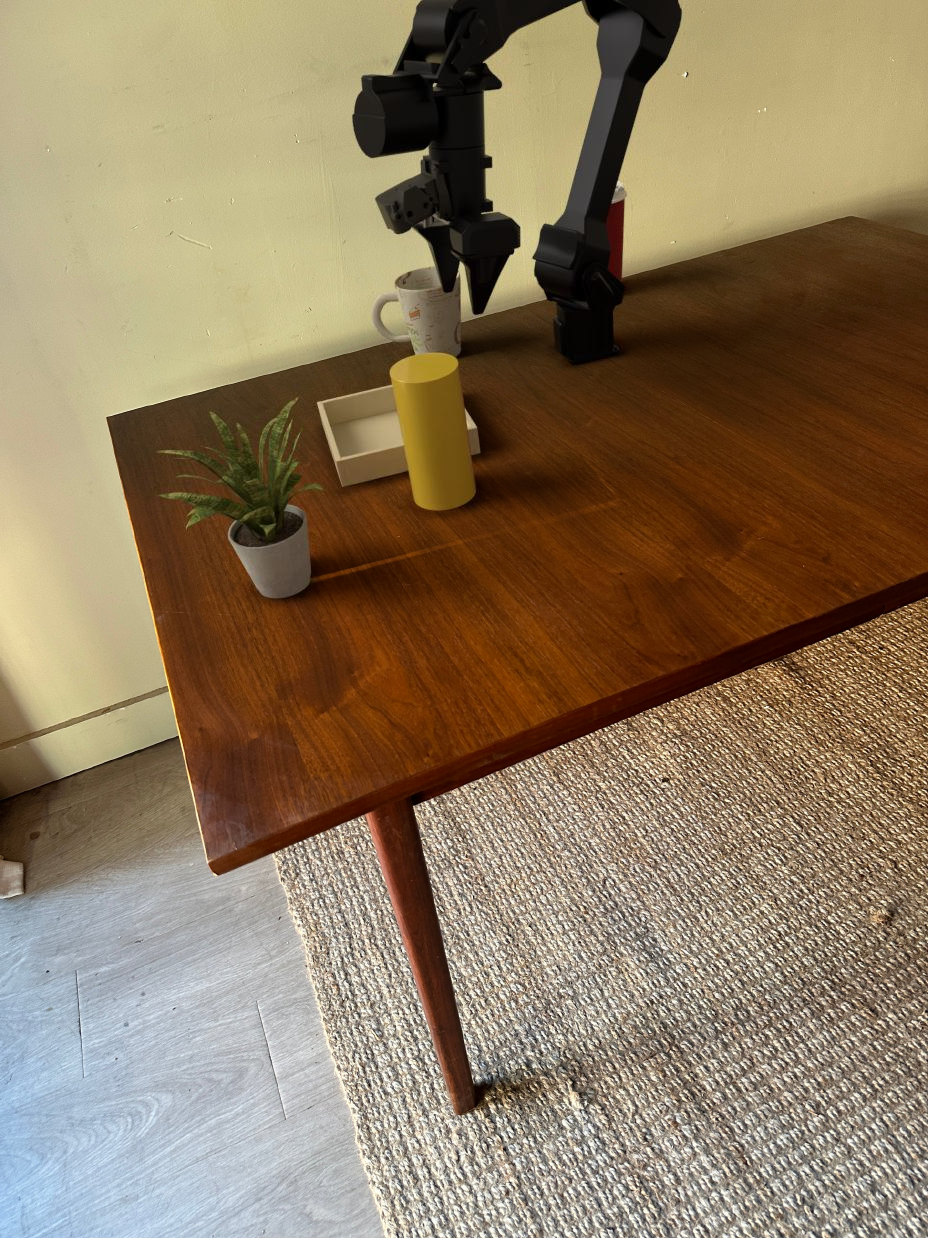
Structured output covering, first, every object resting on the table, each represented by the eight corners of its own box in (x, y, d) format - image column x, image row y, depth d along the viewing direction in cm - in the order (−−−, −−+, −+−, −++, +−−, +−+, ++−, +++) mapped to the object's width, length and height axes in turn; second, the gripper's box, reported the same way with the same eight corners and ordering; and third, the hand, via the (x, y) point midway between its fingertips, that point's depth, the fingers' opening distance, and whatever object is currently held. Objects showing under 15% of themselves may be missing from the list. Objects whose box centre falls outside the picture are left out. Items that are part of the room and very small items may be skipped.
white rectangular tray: (447, 399, 110) (443, 372, 108) (481, 456, 98) (477, 427, 96) (323, 429, 108) (316, 401, 106) (343, 490, 97) (335, 461, 94)
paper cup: (637, 283, 131) (636, 178, 123) (614, 303, 127) (611, 196, 118) (588, 279, 135) (583, 177, 126) (564, 298, 130) (557, 194, 122)
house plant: (265, 522, 94) (217, 372, 83) (384, 538, 89) (349, 380, 78) (182, 608, 84) (117, 450, 74) (311, 631, 79) (260, 465, 69)
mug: (462, 366, 117) (452, 288, 111) (369, 369, 120) (354, 293, 114) (475, 339, 123) (465, 263, 117) (386, 343, 126) (372, 269, 120)
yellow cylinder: (453, 473, 96) (433, 346, 88) (489, 495, 92) (472, 364, 83) (402, 497, 94) (376, 369, 85) (436, 521, 90) (413, 389, 81)
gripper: (354, 140, 97) (368, 291, 106) (410, 166, 83) (420, 338, 92) (452, 131, 100) (458, 278, 109) (522, 154, 86) (522, 322, 95)
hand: (462, 302), depth 101 cm, fingers open, 9 cm apart
